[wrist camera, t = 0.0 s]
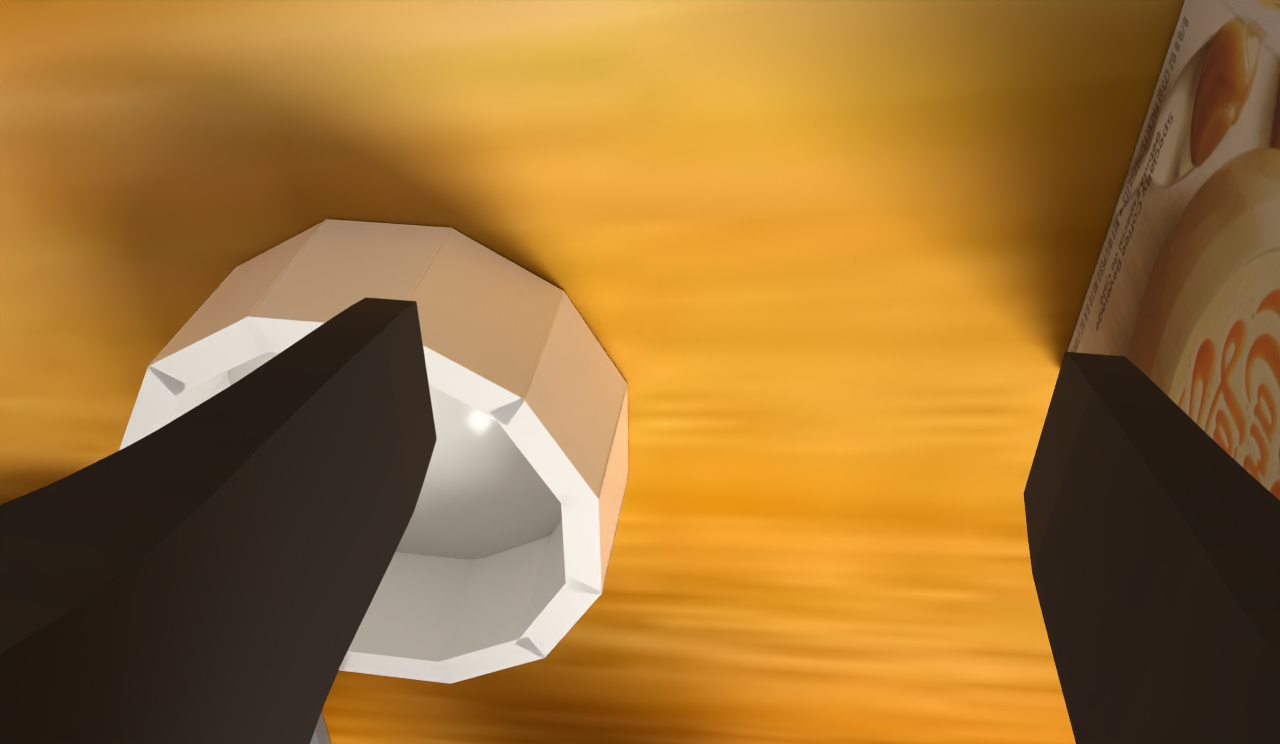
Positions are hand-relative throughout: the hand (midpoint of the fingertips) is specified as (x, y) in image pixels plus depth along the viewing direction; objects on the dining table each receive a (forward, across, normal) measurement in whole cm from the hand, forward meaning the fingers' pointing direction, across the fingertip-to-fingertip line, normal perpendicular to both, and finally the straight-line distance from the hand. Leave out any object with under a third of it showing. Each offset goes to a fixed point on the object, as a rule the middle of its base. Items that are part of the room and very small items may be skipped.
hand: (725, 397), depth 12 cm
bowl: (+10, +8, +9) cm, 16 cm away
